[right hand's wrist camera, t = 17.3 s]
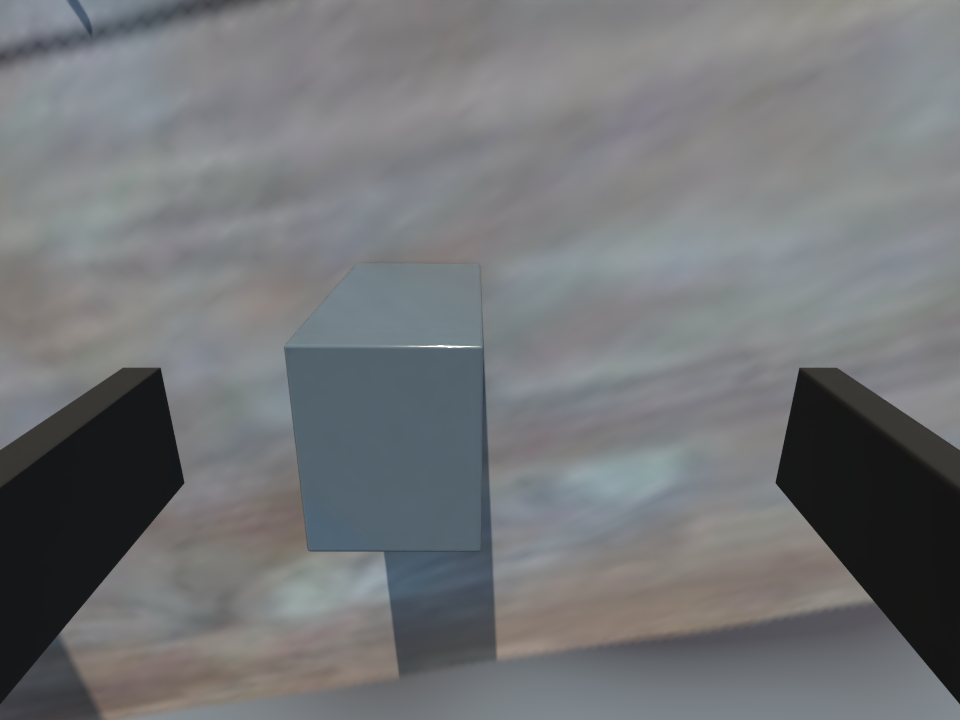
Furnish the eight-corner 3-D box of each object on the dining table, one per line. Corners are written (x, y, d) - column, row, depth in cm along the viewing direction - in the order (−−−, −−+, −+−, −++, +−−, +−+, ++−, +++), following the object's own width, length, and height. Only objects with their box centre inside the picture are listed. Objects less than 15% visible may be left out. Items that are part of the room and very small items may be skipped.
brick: (355, 262, 24) (282, 344, 15) (480, 263, 24) (483, 346, 15) (365, 404, 26) (306, 552, 17) (478, 405, 27) (481, 553, 17)
